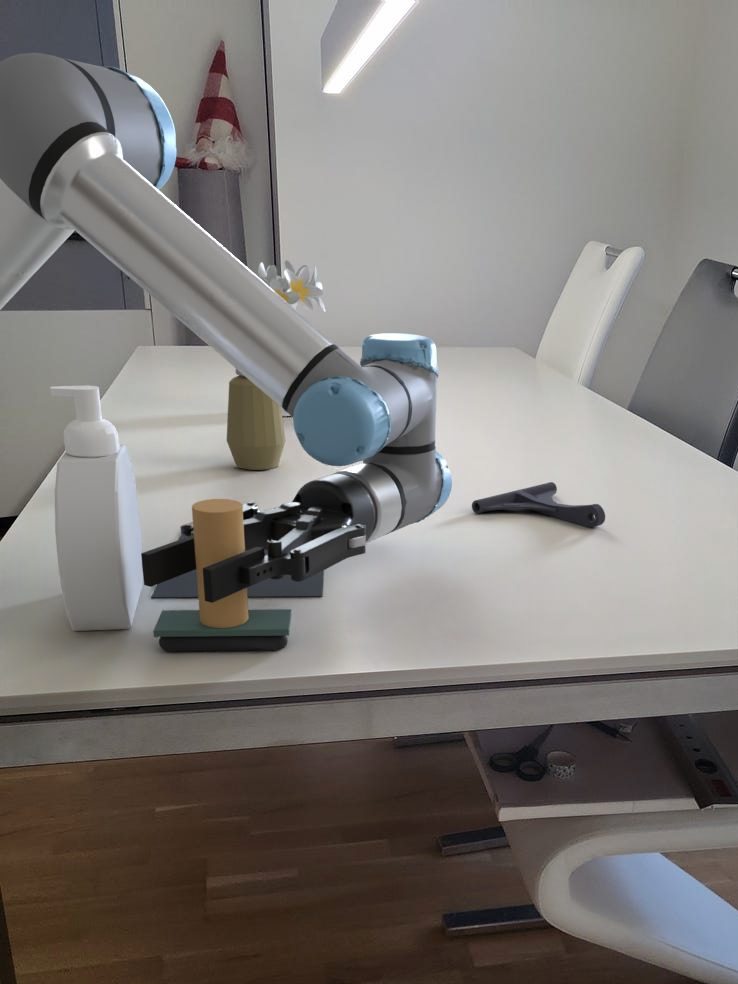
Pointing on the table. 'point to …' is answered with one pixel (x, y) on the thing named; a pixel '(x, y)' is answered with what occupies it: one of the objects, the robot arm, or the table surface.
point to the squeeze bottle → (253, 426)
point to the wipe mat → (267, 588)
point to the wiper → (229, 616)
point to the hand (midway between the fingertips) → (176, 577)
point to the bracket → (542, 505)
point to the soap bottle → (96, 520)
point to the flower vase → (293, 288)
